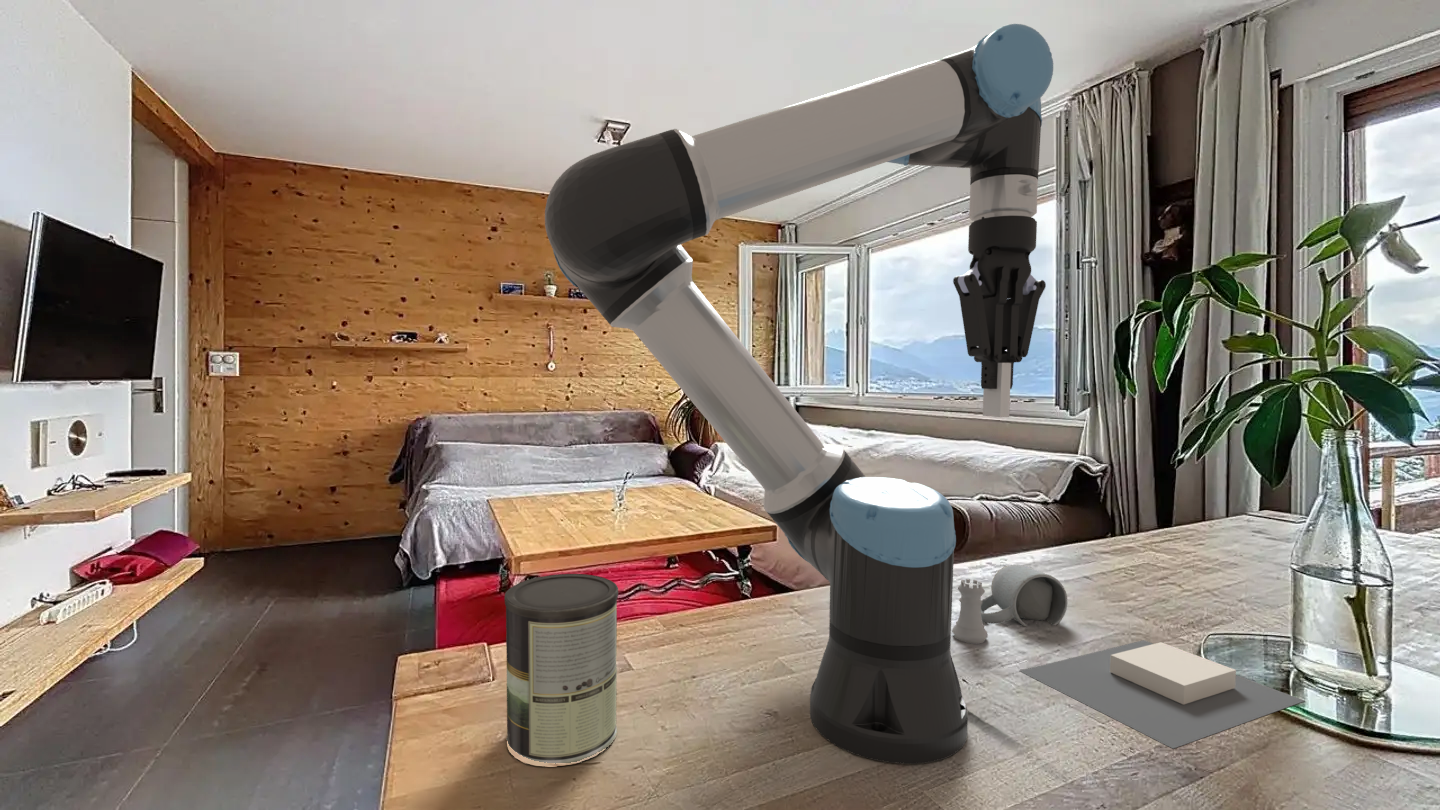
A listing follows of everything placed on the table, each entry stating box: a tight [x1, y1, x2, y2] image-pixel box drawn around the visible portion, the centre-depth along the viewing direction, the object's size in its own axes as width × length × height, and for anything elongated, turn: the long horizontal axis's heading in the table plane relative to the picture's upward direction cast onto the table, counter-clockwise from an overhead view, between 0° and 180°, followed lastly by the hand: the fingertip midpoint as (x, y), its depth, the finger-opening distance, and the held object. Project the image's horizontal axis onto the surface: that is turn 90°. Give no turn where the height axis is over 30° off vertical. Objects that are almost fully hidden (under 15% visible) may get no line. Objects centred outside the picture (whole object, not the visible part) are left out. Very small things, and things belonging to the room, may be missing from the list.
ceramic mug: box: [981, 564, 1068, 626], centre depth 94 cm, size 11×8×8 cm
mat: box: [1019, 639, 1305, 750], centre depth 73 cm, size 22×17×1 cm
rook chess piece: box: [951, 578, 989, 645], centre depth 86 cm, size 4×4×8 cm
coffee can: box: [504, 573, 619, 764], centre depth 63 cm, size 10×10×14 cm
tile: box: [1110, 641, 1237, 705], centre depth 74 cm, size 2×8×9 cm
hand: (995, 416), depth 81 cm, fingers closed
